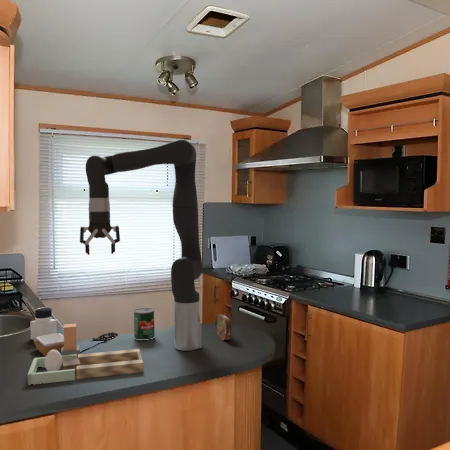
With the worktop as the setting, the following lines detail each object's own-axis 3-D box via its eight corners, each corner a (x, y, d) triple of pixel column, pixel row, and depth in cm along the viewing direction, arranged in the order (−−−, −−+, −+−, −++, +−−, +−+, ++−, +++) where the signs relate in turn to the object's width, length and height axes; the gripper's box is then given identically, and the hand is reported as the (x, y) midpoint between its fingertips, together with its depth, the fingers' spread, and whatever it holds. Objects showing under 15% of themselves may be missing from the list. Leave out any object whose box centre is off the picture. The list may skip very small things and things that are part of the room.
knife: (75, 356, 161) (75, 352, 161) (62, 353, 164) (62, 350, 164) (121, 336, 184) (121, 333, 184) (109, 334, 187) (109, 331, 187)
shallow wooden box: (139, 357, 158) (139, 348, 158) (143, 371, 145) (143, 362, 145) (78, 363, 153) (78, 354, 153) (76, 379, 140) (76, 369, 139)
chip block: (78, 367, 150) (78, 358, 149) (80, 373, 145) (80, 363, 145) (62, 370, 148) (62, 361, 147) (63, 375, 143) (63, 366, 143)
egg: (65, 369, 148) (64, 346, 147) (59, 375, 142) (59, 352, 142) (48, 369, 147) (47, 347, 147) (42, 376, 142) (41, 352, 142)
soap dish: (72, 353, 163) (71, 339, 163) (43, 359, 157) (43, 344, 157) (61, 344, 173) (60, 331, 173) (33, 350, 167) (33, 336, 167)
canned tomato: (146, 342, 175) (145, 313, 175) (130, 339, 179) (129, 311, 178) (158, 336, 182) (158, 309, 182) (143, 333, 186) (142, 307, 185)
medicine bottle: (57, 337, 182) (56, 307, 181) (41, 342, 176) (41, 311, 175) (46, 334, 186) (45, 305, 185) (30, 339, 180) (29, 309, 179)
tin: (214, 332, 188) (214, 311, 187) (222, 331, 189) (222, 311, 188) (225, 343, 173) (225, 321, 173) (233, 342, 174) (233, 320, 174)
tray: (76, 362, 153) (76, 354, 153) (74, 380, 139) (74, 370, 139) (34, 367, 150) (34, 358, 150) (27, 385, 135) (27, 375, 135)
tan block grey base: (80, 353, 163) (79, 322, 163) (79, 358, 157) (78, 327, 157) (62, 355, 161) (61, 324, 161) (61, 360, 156) (60, 328, 155)
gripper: (118, 210, 175) (119, 252, 176) (79, 210, 171) (80, 253, 172) (119, 210, 168) (120, 254, 169) (78, 211, 164) (79, 256, 165)
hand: (100, 254), depth 171 cm, fingers open, 8 cm apart
